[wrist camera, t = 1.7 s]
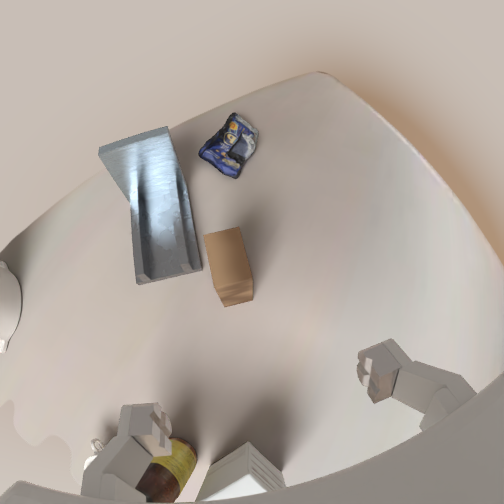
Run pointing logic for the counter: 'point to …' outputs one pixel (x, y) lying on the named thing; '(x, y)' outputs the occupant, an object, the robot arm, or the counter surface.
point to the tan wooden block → (229, 266)
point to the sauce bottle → (168, 473)
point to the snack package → (230, 146)
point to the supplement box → (240, 476)
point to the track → (155, 204)
